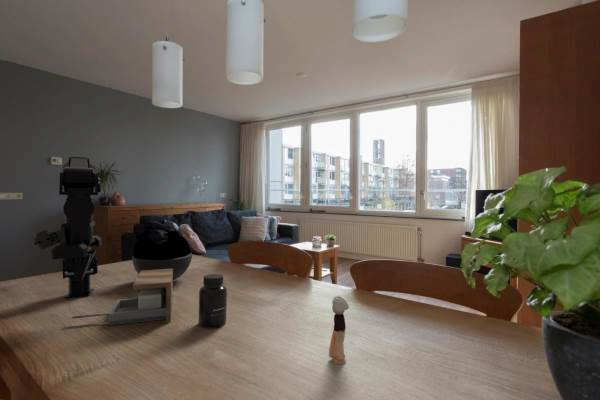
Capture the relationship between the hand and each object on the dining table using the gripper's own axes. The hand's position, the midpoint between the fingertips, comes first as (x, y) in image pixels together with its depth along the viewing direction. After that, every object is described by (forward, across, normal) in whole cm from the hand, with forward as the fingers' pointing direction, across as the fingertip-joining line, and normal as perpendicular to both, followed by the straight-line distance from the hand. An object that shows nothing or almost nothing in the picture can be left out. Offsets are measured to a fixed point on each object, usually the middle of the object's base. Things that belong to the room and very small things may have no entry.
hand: (79, 280), depth 80 cm
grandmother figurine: (+11, +38, +53) cm, 66 cm away
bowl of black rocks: (+11, -32, +18) cm, 38 cm away
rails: (+10, 0, +9) cm, 14 cm away
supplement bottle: (+11, +11, +31) cm, 35 cm away
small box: (+10, 0, +16) cm, 19 cm away
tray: (+10, 0, +14) cm, 18 cm away
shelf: (+10, 0, +17) cm, 20 cm away
